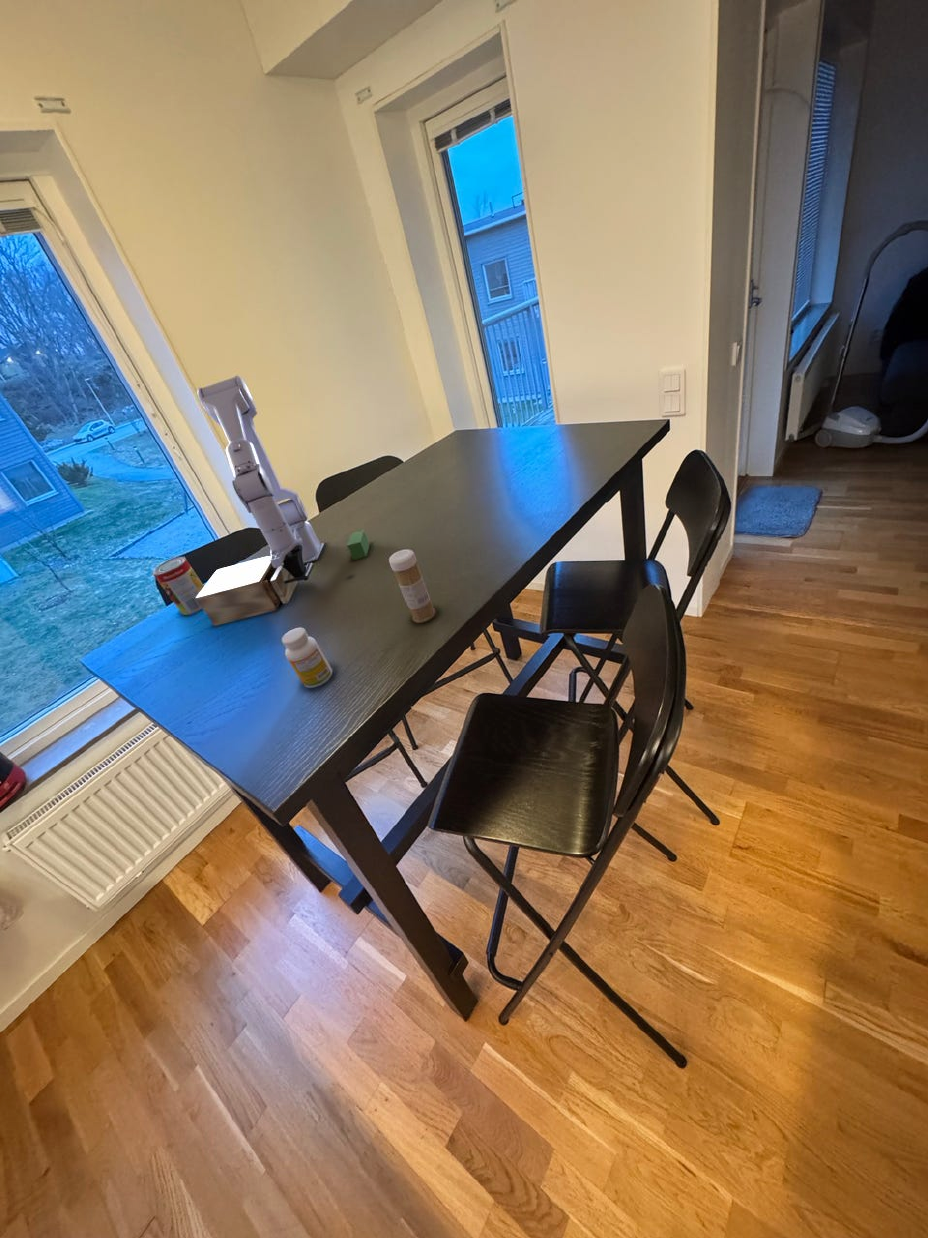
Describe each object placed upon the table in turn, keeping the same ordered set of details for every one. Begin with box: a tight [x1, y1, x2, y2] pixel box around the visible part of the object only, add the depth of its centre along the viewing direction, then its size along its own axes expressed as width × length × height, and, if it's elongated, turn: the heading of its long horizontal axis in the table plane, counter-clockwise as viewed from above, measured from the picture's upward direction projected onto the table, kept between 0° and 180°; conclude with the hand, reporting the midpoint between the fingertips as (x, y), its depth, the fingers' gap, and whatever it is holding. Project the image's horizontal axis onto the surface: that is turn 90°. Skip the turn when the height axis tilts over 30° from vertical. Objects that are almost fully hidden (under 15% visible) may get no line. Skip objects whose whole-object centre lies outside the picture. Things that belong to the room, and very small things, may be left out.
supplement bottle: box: [281, 627, 333, 689], centre depth 82 cm, size 5×5×10 cm
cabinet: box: [195, 554, 282, 627], centre depth 113 cm, size 15×13×8 cm
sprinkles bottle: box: [388, 549, 436, 624], centre depth 88 cm, size 5×5×13 cm
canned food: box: [151, 556, 205, 616], centre depth 119 cm, size 8×8×12 cm
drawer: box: [261, 562, 314, 605], centre depth 112 cm, size 20×12×6 cm, turn 92°
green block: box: [346, 529, 371, 561], centre depth 122 cm, size 7×3×4 cm, turn 2°
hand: (301, 578), depth 112 cm, fingers closed, pressing on drawer
